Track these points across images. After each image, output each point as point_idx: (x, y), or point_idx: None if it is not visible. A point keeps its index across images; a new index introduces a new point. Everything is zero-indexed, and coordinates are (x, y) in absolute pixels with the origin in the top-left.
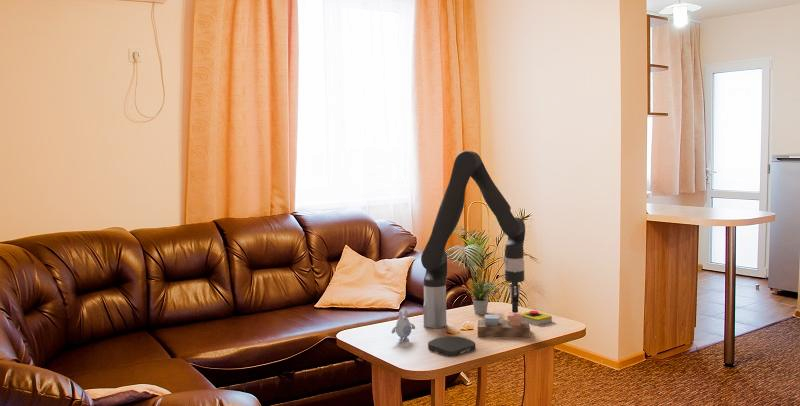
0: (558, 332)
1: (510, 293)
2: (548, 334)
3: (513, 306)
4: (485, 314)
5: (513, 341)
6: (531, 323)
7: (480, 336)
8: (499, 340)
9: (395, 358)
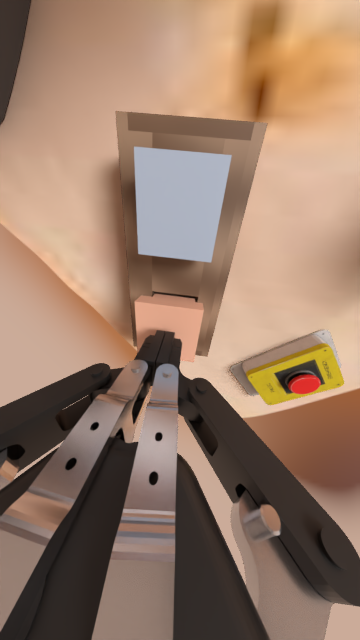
0: None
1: (94, 439)
2: None
3: (138, 352)
4: (229, 161)
5: (111, 288)
6: (260, 356)
7: None
8: (111, 246)
9: None
